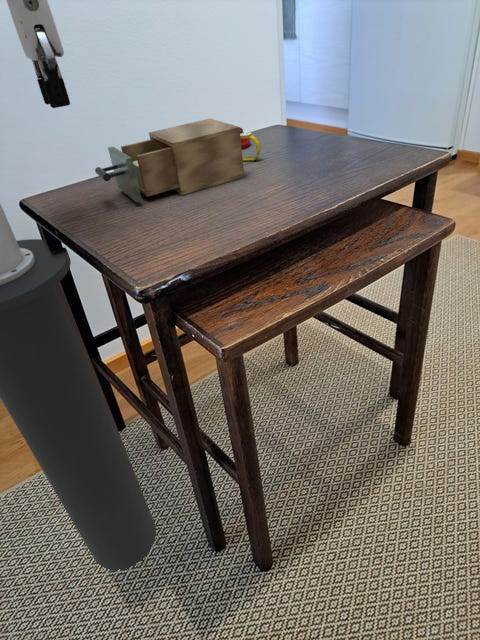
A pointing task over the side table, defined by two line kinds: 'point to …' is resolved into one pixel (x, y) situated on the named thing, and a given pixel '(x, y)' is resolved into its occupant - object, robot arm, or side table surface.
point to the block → (138, 173)
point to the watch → (249, 135)
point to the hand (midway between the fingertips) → (57, 103)
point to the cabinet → (204, 153)
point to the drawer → (142, 168)
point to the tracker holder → (244, 140)
